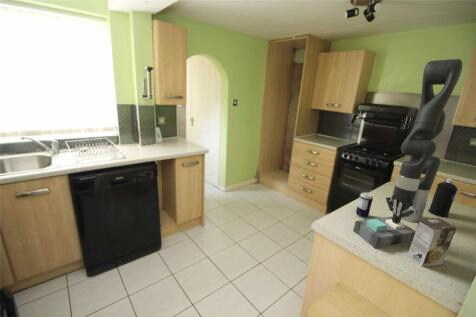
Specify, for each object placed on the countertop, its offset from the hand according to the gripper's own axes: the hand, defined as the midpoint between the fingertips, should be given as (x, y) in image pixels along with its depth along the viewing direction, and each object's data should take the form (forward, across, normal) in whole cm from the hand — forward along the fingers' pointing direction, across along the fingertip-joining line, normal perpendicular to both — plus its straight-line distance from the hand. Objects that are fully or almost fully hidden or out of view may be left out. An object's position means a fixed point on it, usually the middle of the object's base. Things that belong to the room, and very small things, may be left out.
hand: (395, 222), depth 98 cm
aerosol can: (+6, +10, -44) cm, 45 cm away
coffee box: (+6, -15, +2) cm, 17 cm away
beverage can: (+6, +16, +1) cm, 17 cm away
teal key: (+3, 0, +11) cm, 11 cm away
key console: (+6, 0, +5) cm, 8 cm away
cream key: (+4, 0, 0) cm, 4 cm away
